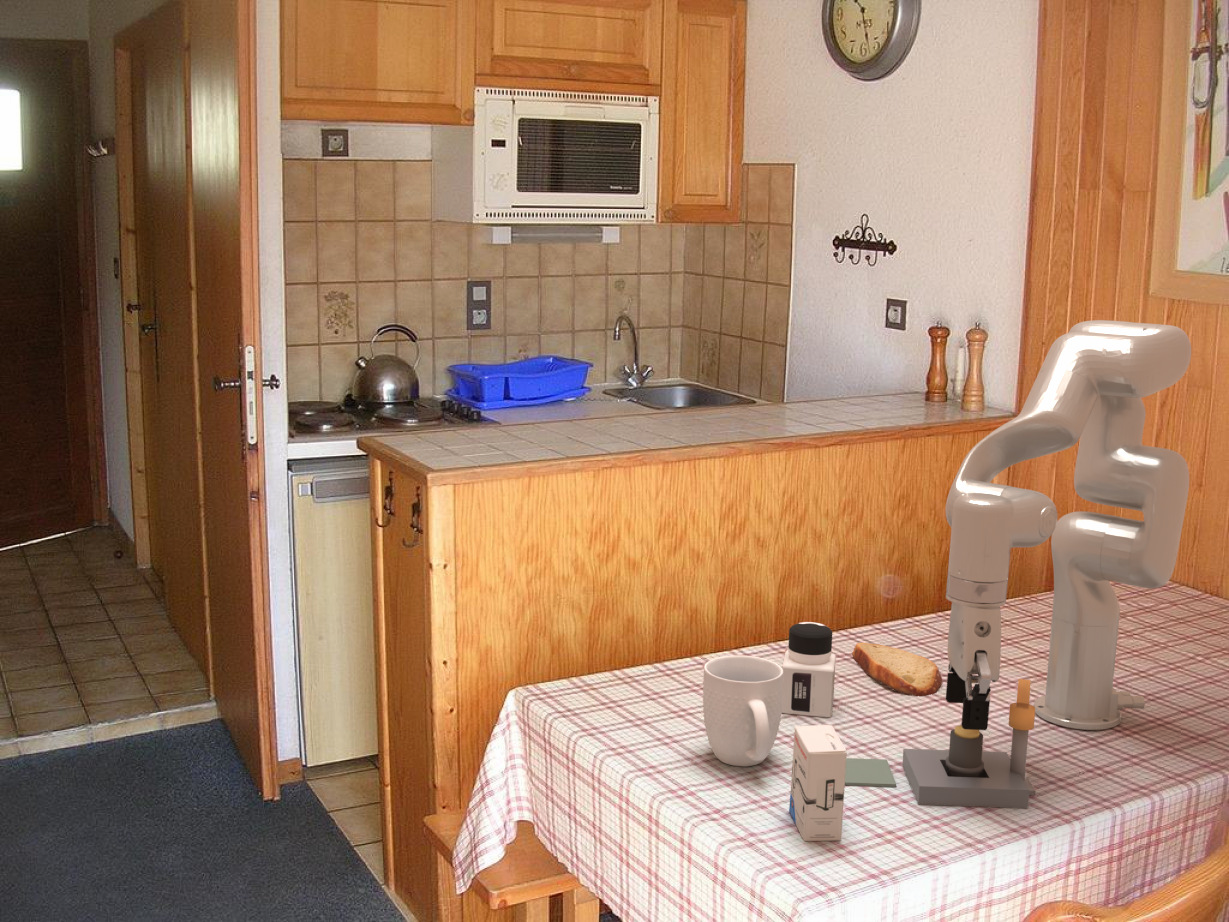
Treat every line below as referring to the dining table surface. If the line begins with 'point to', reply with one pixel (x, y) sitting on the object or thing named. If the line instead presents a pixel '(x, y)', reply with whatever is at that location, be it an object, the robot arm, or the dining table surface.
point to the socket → (971, 778)
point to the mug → (742, 707)
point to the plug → (965, 753)
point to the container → (809, 671)
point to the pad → (868, 773)
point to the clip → (1022, 708)
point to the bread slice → (898, 669)
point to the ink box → (818, 782)
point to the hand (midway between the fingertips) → (965, 715)
